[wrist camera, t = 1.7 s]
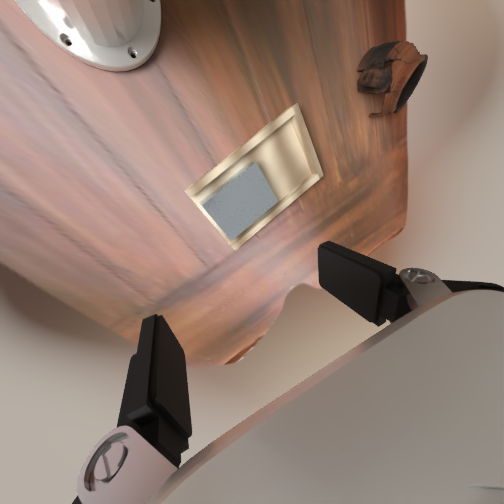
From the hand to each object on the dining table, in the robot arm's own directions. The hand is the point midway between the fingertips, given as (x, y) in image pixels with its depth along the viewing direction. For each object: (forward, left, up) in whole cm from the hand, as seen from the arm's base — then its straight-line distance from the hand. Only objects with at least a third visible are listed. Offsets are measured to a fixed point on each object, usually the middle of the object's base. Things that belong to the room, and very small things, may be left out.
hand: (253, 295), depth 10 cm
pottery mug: (-34, +18, -23) cm, 44 cm away
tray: (-10, +7, -22) cm, 25 cm away
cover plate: (-5, +4, -22) cm, 23 cm away
